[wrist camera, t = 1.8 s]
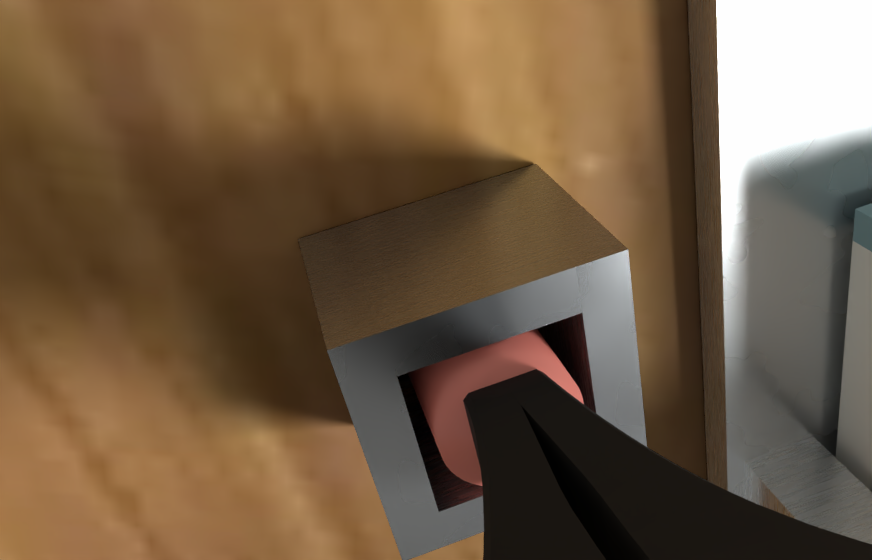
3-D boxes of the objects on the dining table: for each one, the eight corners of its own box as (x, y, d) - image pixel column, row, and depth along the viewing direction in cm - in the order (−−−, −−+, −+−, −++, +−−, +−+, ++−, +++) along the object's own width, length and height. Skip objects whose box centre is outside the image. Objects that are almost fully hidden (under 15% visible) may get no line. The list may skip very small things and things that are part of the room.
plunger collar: (566, 356, 18) (649, 469, 15) (363, 426, 18) (403, 561, 15) (535, 163, 16) (628, 249, 13) (297, 239, 15) (326, 350, 12)
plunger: (515, 338, 17) (591, 456, 14) (404, 376, 17) (455, 505, 14) (495, 238, 16) (574, 342, 13) (374, 278, 16) (423, 394, 12)
